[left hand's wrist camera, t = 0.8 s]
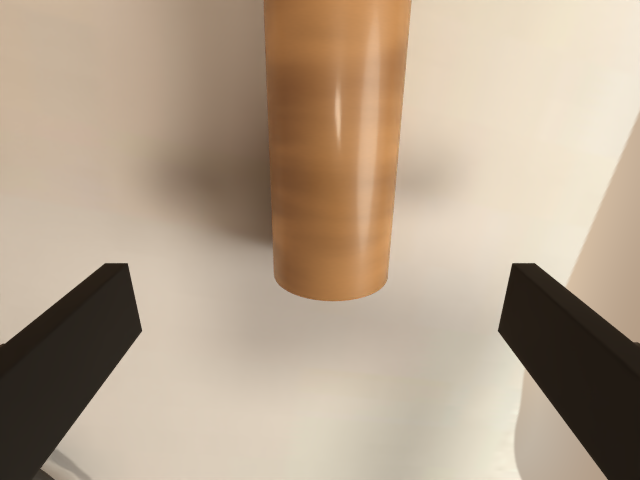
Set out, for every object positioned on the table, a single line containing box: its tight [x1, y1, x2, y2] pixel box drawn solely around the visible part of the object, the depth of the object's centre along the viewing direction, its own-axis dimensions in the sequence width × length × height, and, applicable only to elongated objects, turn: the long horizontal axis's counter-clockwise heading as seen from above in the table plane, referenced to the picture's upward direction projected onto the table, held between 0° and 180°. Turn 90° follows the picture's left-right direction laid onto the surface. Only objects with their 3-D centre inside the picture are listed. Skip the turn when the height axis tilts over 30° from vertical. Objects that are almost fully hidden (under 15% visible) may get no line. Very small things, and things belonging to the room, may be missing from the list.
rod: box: [264, 0, 411, 301], centre depth 20 cm, size 26×7×8 cm, turn 179°
